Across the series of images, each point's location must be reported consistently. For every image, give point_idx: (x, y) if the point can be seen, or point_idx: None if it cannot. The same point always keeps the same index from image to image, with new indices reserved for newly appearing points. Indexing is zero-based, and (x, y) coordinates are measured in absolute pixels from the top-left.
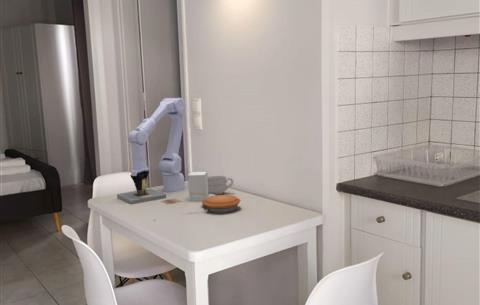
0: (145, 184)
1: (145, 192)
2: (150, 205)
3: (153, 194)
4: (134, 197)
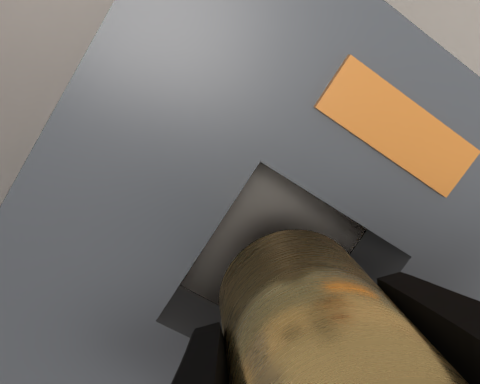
0: (318, 294)
1: (293, 231)
2: (433, 19)
3: (247, 102)
4: (467, 266)
